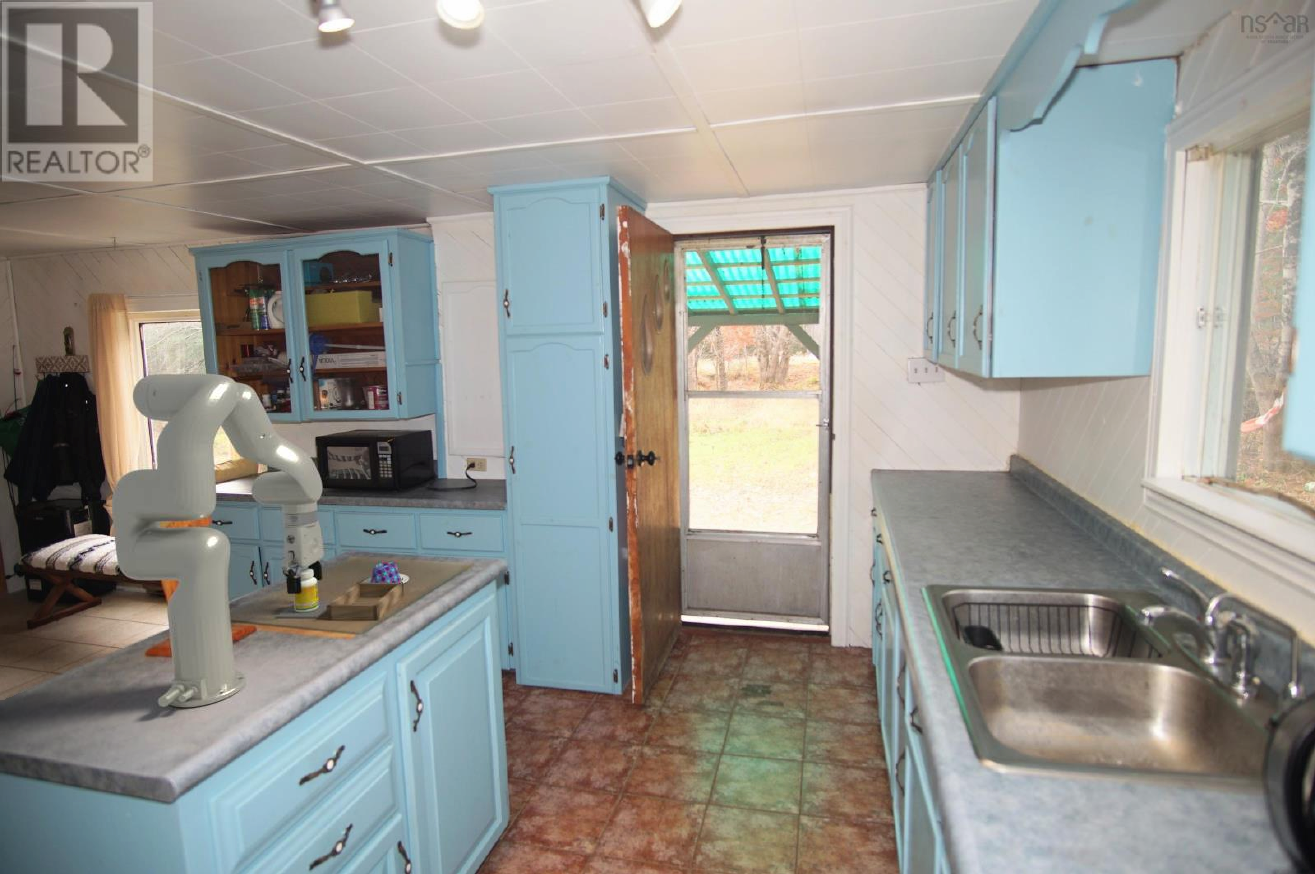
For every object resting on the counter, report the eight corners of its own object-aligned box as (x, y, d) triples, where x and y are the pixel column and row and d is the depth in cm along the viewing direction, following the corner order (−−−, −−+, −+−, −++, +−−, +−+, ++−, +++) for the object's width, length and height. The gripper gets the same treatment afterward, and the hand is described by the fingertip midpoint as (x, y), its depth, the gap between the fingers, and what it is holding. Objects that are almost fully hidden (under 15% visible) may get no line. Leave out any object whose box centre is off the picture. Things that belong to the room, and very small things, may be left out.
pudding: (377, 575, 197) (376, 557, 196) (417, 577, 195) (416, 559, 194) (353, 590, 185) (352, 571, 184) (395, 592, 183) (394, 573, 182)
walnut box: (377, 620, 164) (376, 606, 163) (327, 619, 164) (326, 605, 164) (403, 595, 180) (403, 582, 179) (358, 595, 180) (357, 582, 179)
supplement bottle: (292, 608, 170) (289, 570, 169) (316, 603, 174) (313, 566, 172) (297, 614, 166) (294, 576, 165) (321, 609, 169) (318, 571, 168)
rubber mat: (317, 618, 165) (317, 616, 165) (276, 617, 165) (276, 616, 165) (337, 602, 175) (337, 601, 175) (298, 602, 175) (298, 600, 175)
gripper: (296, 527, 158) (301, 599, 160) (333, 509, 175) (337, 575, 178) (264, 527, 158) (269, 599, 161) (304, 509, 176) (308, 574, 178)
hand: (305, 586), depth 169 cm, fingers open, 9 cm apart
